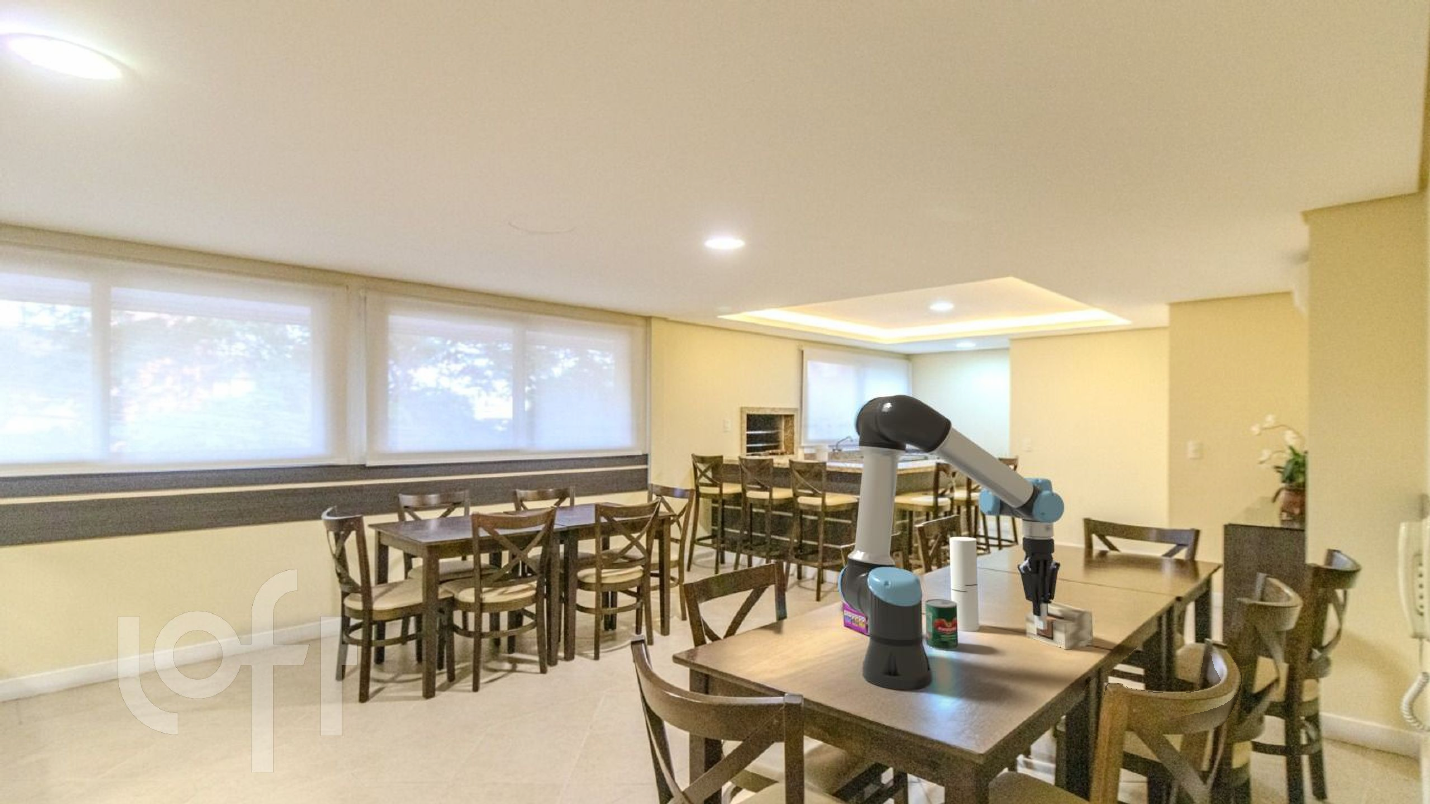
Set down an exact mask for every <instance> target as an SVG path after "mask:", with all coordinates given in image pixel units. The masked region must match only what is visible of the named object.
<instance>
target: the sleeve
mask: <svg viewBox="0 0 1430 804" xmlns="http://www.w3.org/2000/svg"><path fill="white" fill-rule="evenodd" d="M1051 601H1052V602H1051V604H1049V603H1048V615H1047V616H1054V617H1057V618H1060V620H1052V635H1053V637H1047V636H1044V635H1041V634H1038V633H1037V628H1036V627H1035V625H1034V615H1033V611H1027V612H1025V630H1026V631H1025V632H1026V637H1027V638H1029V637H1030V639H1032V638H1033V640H1036V641H1038V640H1039V641H1038V642H1041V641H1042V643H1044V642H1046V643H1045V644H1047V643H1049V644H1048V645H1050V644H1051V645H1050V646H1053V645H1054V646H1053V647H1056V646H1058V647H1057V648H1059V647H1061V648H1060V649H1062V648H1064V649H1066V650H1069V649H1068V648H1072V649H1076V648H1075V647H1078V648H1082V647H1081V646H1083V647H1087V646H1086V645H1089V646H1093V645H1094V634H1093V633H1094V632H1093V631H1094V630H1093V627H1094V626H1093V612H1092V611H1090V610H1087V609H1083V608H1078V607H1076V606H1072V605H1067V604H1065V603H1061V602H1056V601H1053V600H1051ZM1092 644H1093V645H1092ZM1064 649H1063V650H1064Z"/></svg>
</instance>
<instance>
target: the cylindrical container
mask: <svg viewBox="0 0 1430 804" xmlns="http://www.w3.org/2000/svg"><path fill="white" fill-rule="evenodd" d="M977 553H978V549H977V538H975V537H967V536H952V537H949V559H950V560H949V562H950V563H949V564H950V565H949V566H950V601H954V602H956V603H957V623H958V624H957V626H958V627H957V628H958V631H962V632H976V631H979V630H980V619H979V618H980V617H979V615H980V614H979V613H980V612H979V587H978V584H979V583H978V558H977V557H978V554H977ZM978 629H979V630H978Z"/></svg>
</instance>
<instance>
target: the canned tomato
mask: <svg viewBox="0 0 1430 804" xmlns="http://www.w3.org/2000/svg"><path fill="white" fill-rule="evenodd" d="M924 603H925V641H926V643H925V645H926V646H927V647H928V646H929V647H928V648H930V647H932V648H931V649H933V648H935V649H934V650H937V649H938V650H939V651H954V650H957V649H958V648H959V636H958V634H959V633H958V632H959V630H958V628H957V627H958V626H957V624H958V623H957V603H956V602H954V601H951V599H944V598H931V599H927V600H925V601H924Z"/></svg>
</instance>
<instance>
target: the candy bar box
mask: <svg viewBox="0 0 1430 804" xmlns="http://www.w3.org/2000/svg"><path fill="white" fill-rule="evenodd" d="M842 600H843V599H842ZM842 604H843V605H842V606H843V607H842V608H843V610H842V612H843V617H842V618H843V626H844V627H846V628H848V629H850V630H852V629H853V630H852V631H855V632H858V633H860V634H863V635H864V636H870V631H869V618H868V617H866V616H865V615H863V614H861V613H859V612H857V611H855V610H853V609H852V608H851V607H850V606H849V605H848V604H847V603H846V602H845V601H844V600H843V601H842Z"/></svg>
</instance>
